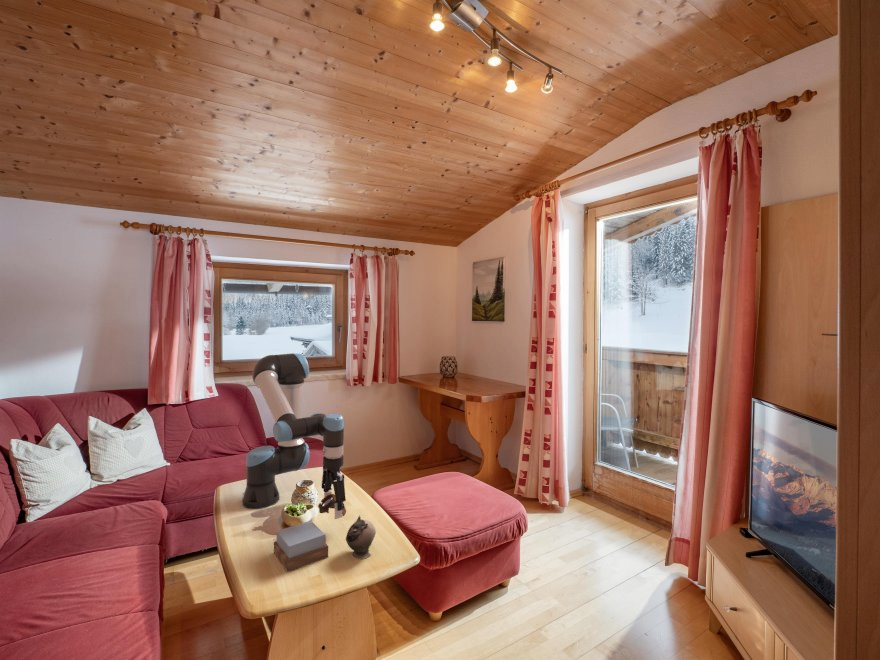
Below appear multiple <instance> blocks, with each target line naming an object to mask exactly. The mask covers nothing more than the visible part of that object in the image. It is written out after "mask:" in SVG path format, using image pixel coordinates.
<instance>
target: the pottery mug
mask: <svg viewBox="0 0 880 660" xmlns="http://www.w3.org/2000/svg"><path fill="white" fill-rule="evenodd" d="M331 498H332V499H331ZM329 499H331V501H330V502H329V503H328V504H326V505H324V503H325V502H326V501H327V500H329ZM335 501H336V498H335V493H332V494H330V495H328V496H326V497H325V498H324V497H323V498H322V499H321V500H320V502H319V504H318V505H317V507H318V509H319V513H320V514H324V513H327V514H330V512H329V509H334V510H335V503H334V502H335ZM329 507H330V508H329ZM346 513H347V509H346V506H345V503H344V502H342V517H344V516H345V515H346Z"/></svg>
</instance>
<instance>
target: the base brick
mask: <svg viewBox="0 0 880 660" xmlns="http://www.w3.org/2000/svg"><path fill="white" fill-rule="evenodd" d="M273 554H274V555H276V556H275V557H276V558H277V560H278V561H279V562H280V563H281V565H282V566H283V567H284V570H285V571H286V572H287V573H289V572H294V571H296V570H298V569H300V568H303V567H307V566H309V565H311V564H314V563H316V562H319V561H321V560H325V559H328V558H329V545H328V544H327V543H326V542H325V546H323V547H320V548H317V549H315V550H312V551H309V552H306V553H303V554H301V555H298V556H295V557H292V558H288V556H287V555H286V554H285V552H284V551H283V550H282V549H281V547H280V546H279V545H278V544H277V540H276V541H274V542H273Z"/></svg>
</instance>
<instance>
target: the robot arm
mask: <svg viewBox="0 0 880 660" xmlns="http://www.w3.org/2000/svg"><path fill="white" fill-rule="evenodd" d="M309 374H310V367H309V363H308V360H307V358H306V357H305V355H304V354H302V353H294V352H293V353H282V354H281V353H280V354H269V355H266V356H263V357H262V358H260V359H259V360H258V361H257V362H256V364H255V365H254V367H253V370H252V381H253V383H254V386H255V387H257V388H258V389H259V390H260V392H261V394H262V397H263V398H264V400H265V403H266V405H267V407H268V409H269V411H270V413H271V416H272V417H273V419H274V424H273V427H272V433H273V438H274V439H275V441H276V442H277V447H276V448H275V446H272V445H261V446H257V447H255V448H253V449H251V450H250V451H248V453H247V454H246V459H245V469H246V471H245V473H246V478H245V479H246V485H245V486H246V487H245V490H244V493H243V496H242V506H243V507H244V508H247V509H255V510H257V509H264V508H267V507H270V506H273V505H275V504H276V503H278V502H279V501H280V492H279V490H278V487H277V484H276V476H277V475H282V474H287V473H292V472H296V471H299V470H302V469H304V468H306V467H307V466H308V464H309V460H310V452H311V451H310V447H309V444H308V443H307V442H305V439H303V438H310V437H315V436H321V437H322V441H323V442H322V445H323V446H322V448H323V449H321V450H322V452H323V453H322V455H323V458H322V478H321V489H322V490H323V492H324V493H323V494H324V495H323V498H325V497H326V496H328V495H330V494H333V492H334V495H335V498H336V501H335V502H334V503H335V509H334V519H335V520H337V519H340V518H343V515H342V502H343V503H344V502H346V500H347V499H346V489H345V474H341V467H343V466H344V453H345V452H344V449H345V447H344V444H345V443H344V437H345V436H344V430H345V423H344V422H345V421H344V416H343V415H342V414H340V413H339V414H338V413H329V414H325V413H322V412H315V413H313V414H312V415H310V416H306V417H302V397H301V396H302V395H301V394H302V393H301V392H302V388H301V387H302V386H303V385H304V384H305V379H307V378H308V377H309ZM332 486H333V488H332ZM332 490H333V492H332ZM331 500H332V498H331V499H329V500H327V501H326V502H325V503H324V504H323V506H324V505H326V504H328V503H329V502H330V501H331ZM329 509H331V508H330V507H329Z"/></svg>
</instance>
